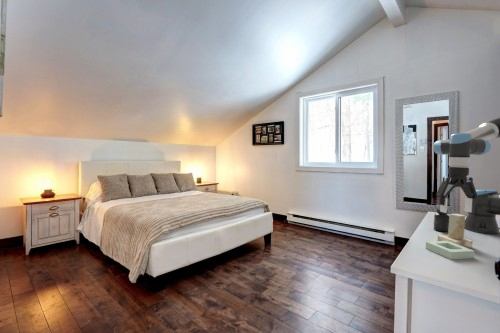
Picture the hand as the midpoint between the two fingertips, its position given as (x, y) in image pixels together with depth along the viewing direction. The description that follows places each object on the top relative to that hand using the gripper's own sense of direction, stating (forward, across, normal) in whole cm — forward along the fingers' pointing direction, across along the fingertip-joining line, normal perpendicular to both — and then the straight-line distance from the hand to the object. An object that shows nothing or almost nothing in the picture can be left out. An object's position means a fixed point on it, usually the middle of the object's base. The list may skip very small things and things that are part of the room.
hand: (455, 212), depth 118 cm
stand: (+15, 0, 0) cm, 15 cm away
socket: (+16, +13, +9) cm, 22 cm away
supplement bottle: (+15, -14, -20) cm, 29 cm away
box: (+12, -1, 0) cm, 13 cm away
